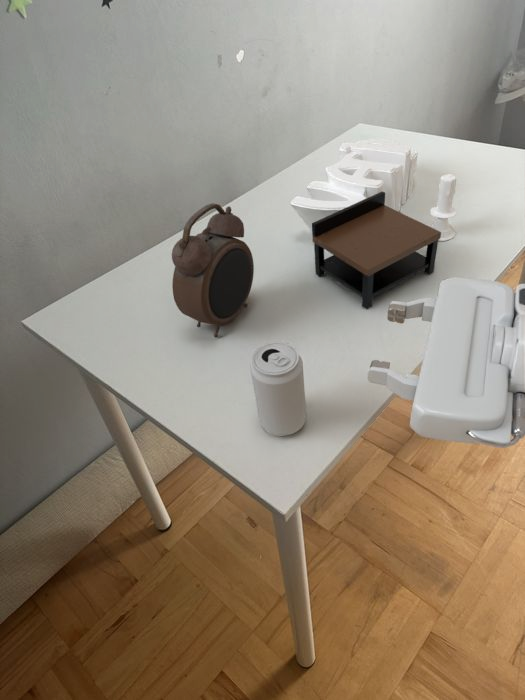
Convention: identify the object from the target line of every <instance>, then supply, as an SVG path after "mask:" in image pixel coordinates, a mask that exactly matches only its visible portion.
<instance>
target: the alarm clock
mask: <svg viewBox="0 0 525 700" xmlns="http://www.w3.org/2000/svg"><path fill="white" fill-rule="evenodd" d="M213 209H215V210H216V211H217V213H215V214H213V215H212V216H211V217H210V219H209V221H208V222H207V226H206V227H205V229H203V230H202V232H200V233H197V234H196V235H191V230H192V228H193V226H194V225H195V224H196V222H197V221H198V220H199V219H200V218H201V217H203V216H204V215H205V214H206V213H208V212H210V211H211V210H213ZM244 225H245V224H244V222H243V220H242V219H241V218H240V217H239V216H237V215H236V214H234V213H233V212H232V207H231V206H229V205H228V206H227V207H225V210H224V209H223V207H222V206H221V205H220V204H218V203H215V202H214V203H213V202H212V203H209V204H206V205H204V206H202V207H201V208H199V210H198V211H196V212H195V213H194V214H193V215H192V216H190V218H189V219H188V220H187V221H186V223H185V225H184V227H183V232H182V237H181V238H180V239H179V240H178V241H176V243H175V244H174V245H173V247H172V250H171V261H172V264H173V265H174V269H173V275H172V296H173V299H174V303H175V305H176V307H177V309H178V310H179V311H180V312H181V314H183V315H184V316H187V317H188V318H191V319H192V320H194V321H197V324H196V326H197V328H200V327H201V323H203V324H207V325H212V326H214V334H213V337H214V338H217V337H219V331H220V327H221V326H226V325H227V324H229V323H231V322H232V321H234V320H235V319H236V317H237V316H238V315H239V314H240V313H241V311H242V310H243V308H248V307H249V303H246V302H247V300H248V298H249V296H250V293H251V290H252V286H253V281H254V273H255V272H254V271H255V265H254V257H253V254H252V250H251V249H250V247H249V245H248V244H247V243H246V242H245V241H243V240H241V239H239V238H245V226H244Z"/></svg>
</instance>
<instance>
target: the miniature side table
mask: <svg viewBox="0 0 525 700" xmlns="http://www.w3.org/2000/svg"><path fill="white" fill-rule="evenodd" d="M311 234H312V236H311V237H312V238H311V239H312V242H313V243H314V244H313V246H314V267H315V275H316V276H317V277H319V278H321V277H322V276H324V275H325V274H327V275H328V276H330V277H331V278H333V279H334V280H336V281H337V282H338V283H340V284H341V285H343V286H344V287H346V288H348V289H349V290H350V291H352V292H353V293H355V295H358V296H359V297H361V307H362V308H364V309H365V310H368V309H370V308H372V306H373V298H374V297H376V296H378V295H380V294H382V293H384V292H386V291H387V290H390V289H391V288H393V287H394V286H397V285H398V284H400V283H403V282H404V281H405V280H407V279H409V278H411V277H413V276H415V275H417V274H419V273H421V272H422V271H423V273H424V274H426V275H428V276H430V275H432V274H433V273H434V271H435V265H436V259H437V253H438V246H439V241H438V239H440V237H441V232H440V231H438V230H435V229H433V228H431V226H429V225H427V224H425V223H423V222H420V221H419V220H417V219H415V218H412V217H411V216H408V215H406V214H404V213H403V212H400V211H399V212H398V211H396V210H394V209H392V208H390V207H388V206H386V205H385V192H383V191H382V192H380V193H377V194H375V195H373V196H371V197H369V198H366V199H364V200H362V201H360V202H358V203H355V204H353V205H351V206H349V207H347V208H344V209H342V210H340V211H338V212H336V213H333V214H331V215H329V216H327V217H325V218H322V219H320V220H318V221H316V222H314V223H312V231H311ZM424 247H426V252H425V255H424V254H422V253H420V252H418V251H419V250H421V249H423V248H424ZM325 251H326V252H328V253H329V254H331V256H329V257H326V258H325Z"/></svg>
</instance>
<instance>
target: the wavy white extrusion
mask: <svg viewBox="0 0 525 700" xmlns="http://www.w3.org/2000/svg"><path fill="white" fill-rule="evenodd" d="M338 149H339V156H340V160H338V161H337V163H335V164H332V165H328V166H326V167H324V169H325V173H326V176H327V180H328V181H321V180H313V181H311V182H310V183H309V184H308V185H307V186H306V190H307V191H308V193H309V195H310V197H311V198H308V197H305V196H304V197H303V196H300V195H297V196H295V197H294V198H293V199H292V200H291V201H290V202H289V205H290V206H291V207H292V209H293V210H294V211H295V213H297V215H299V217H300V219H301V220H302V221H303V222H304V223H305V225H306V226H307V227H308V229H309V230H310V231H311V232H312V223H314V222H316V221H318V220H320V219H322V218H325V217H327V216H329V215H331V214H333V213H336V212H338V211H340V210H342V209H344V208H347V207H349V206H351V205H353V204H355V203H358V202H360V201H362V200H364V199H366V198H369V197H371V196H373V195H375V194H377V193H380V192H382V191H383V192H385V205H386V206H388V207H390V208H392V209H394V210H396V211H398V212H400V210H401V206H403V205H405V203H406V201H407V199H408V198H409V197H410V196H411V195H412V193H413V187H414V181H415V174H416V169H417V168H416V167H417V162H418V158H419V157H418V156H419V152H417V151H416V149H414V148H412V147H411V146H408V145H406V144H404V143H401V142H397V141H393V140H389V139H382V138H370V139H368V138H367V139H364V140H359V141H358V142H352V141H343V142H342V144H341V145H340V146H339V148H338Z"/></svg>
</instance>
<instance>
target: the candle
mask: <svg viewBox="0 0 525 700" xmlns="http://www.w3.org/2000/svg"><path fill="white" fill-rule="evenodd" d="M438 184H439V185H438V187H437V189H438V198H437V202H436V206H433V207H432V208H430V210H429V212H430V214H431V215H432V216H433V217H434V218H436V219H435V221H434V222H433V223H432V224H431V225H430V227H431V228H433V229H435V230H438V231H440V232H441V237H440V239H438V242H446V241H450V240H452V239H454V237H456V232H455V231H454V230H453V226H452V225H451V223H450V222H449V218H450V219H451V218H453V217H455V216H456V215H457V213H458V211H457V209H456V208H455V207H453V201H454V196H455V195H456V185H457V178H456V176H455V175H453V174H451V173H448V174H444V175H442V176H441V177H440V180H439V183H438Z"/></svg>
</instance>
